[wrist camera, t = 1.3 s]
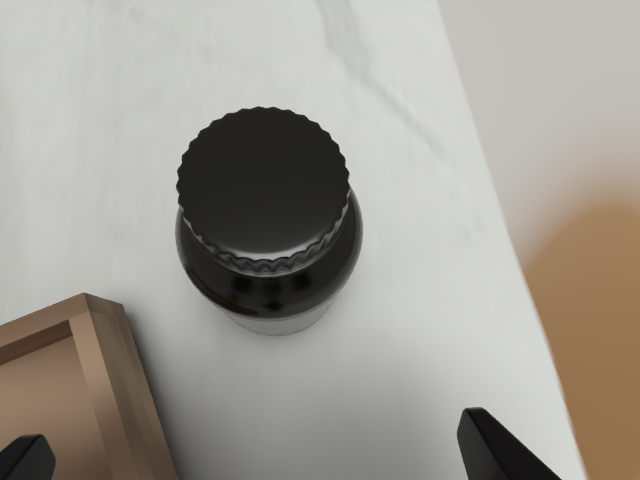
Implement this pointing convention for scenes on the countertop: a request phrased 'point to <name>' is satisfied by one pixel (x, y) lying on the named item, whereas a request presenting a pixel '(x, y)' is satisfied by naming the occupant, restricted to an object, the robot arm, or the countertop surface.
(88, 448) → the square wooden tray
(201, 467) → the countertop surface
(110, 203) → the countertop surface
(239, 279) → the supplement bottle
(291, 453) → the countertop surface
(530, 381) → the countertop surface
